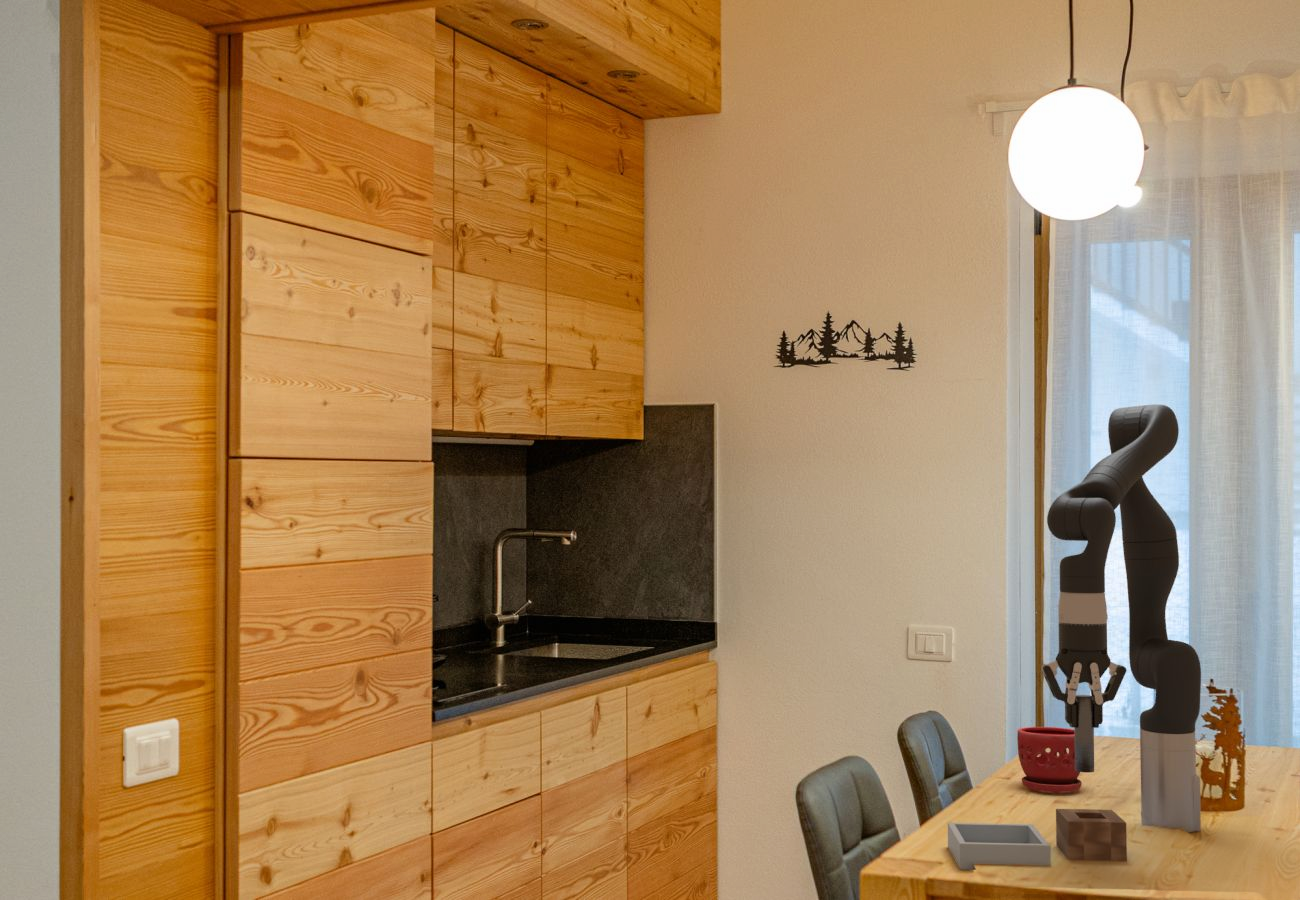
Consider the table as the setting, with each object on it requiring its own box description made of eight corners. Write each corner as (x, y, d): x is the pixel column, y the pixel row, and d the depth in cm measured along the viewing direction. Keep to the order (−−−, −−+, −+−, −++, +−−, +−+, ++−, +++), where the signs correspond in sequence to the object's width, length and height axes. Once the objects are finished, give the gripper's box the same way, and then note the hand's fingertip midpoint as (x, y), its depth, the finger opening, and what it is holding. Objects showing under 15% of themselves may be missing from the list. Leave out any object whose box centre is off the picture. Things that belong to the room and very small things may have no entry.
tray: (1033, 848, 222) (1032, 824, 222) (1050, 871, 208) (1050, 845, 208) (947, 846, 223) (947, 822, 223) (960, 869, 209) (959, 843, 209)
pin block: (1112, 852, 219) (1111, 809, 219) (1126, 867, 210) (1126, 822, 210) (1056, 851, 220) (1055, 808, 220) (1068, 866, 211) (1068, 821, 211)
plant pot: (1098, 794, 264) (1097, 733, 264) (1039, 798, 260) (1038, 736, 261) (1062, 781, 276) (1062, 723, 277) (1005, 784, 273) (1005, 725, 274)
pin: (1091, 769, 217) (1090, 695, 217) (1096, 772, 214) (1095, 697, 214) (1072, 768, 217) (1072, 694, 218) (1077, 772, 214) (1076, 697, 215)
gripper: (1120, 618, 220) (1121, 723, 219) (1033, 617, 221) (1034, 722, 220) (1133, 622, 212) (1134, 731, 212) (1043, 621, 213) (1044, 730, 213)
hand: (1083, 726), depth 216 cm, fingers closed on pin, 3 cm apart
